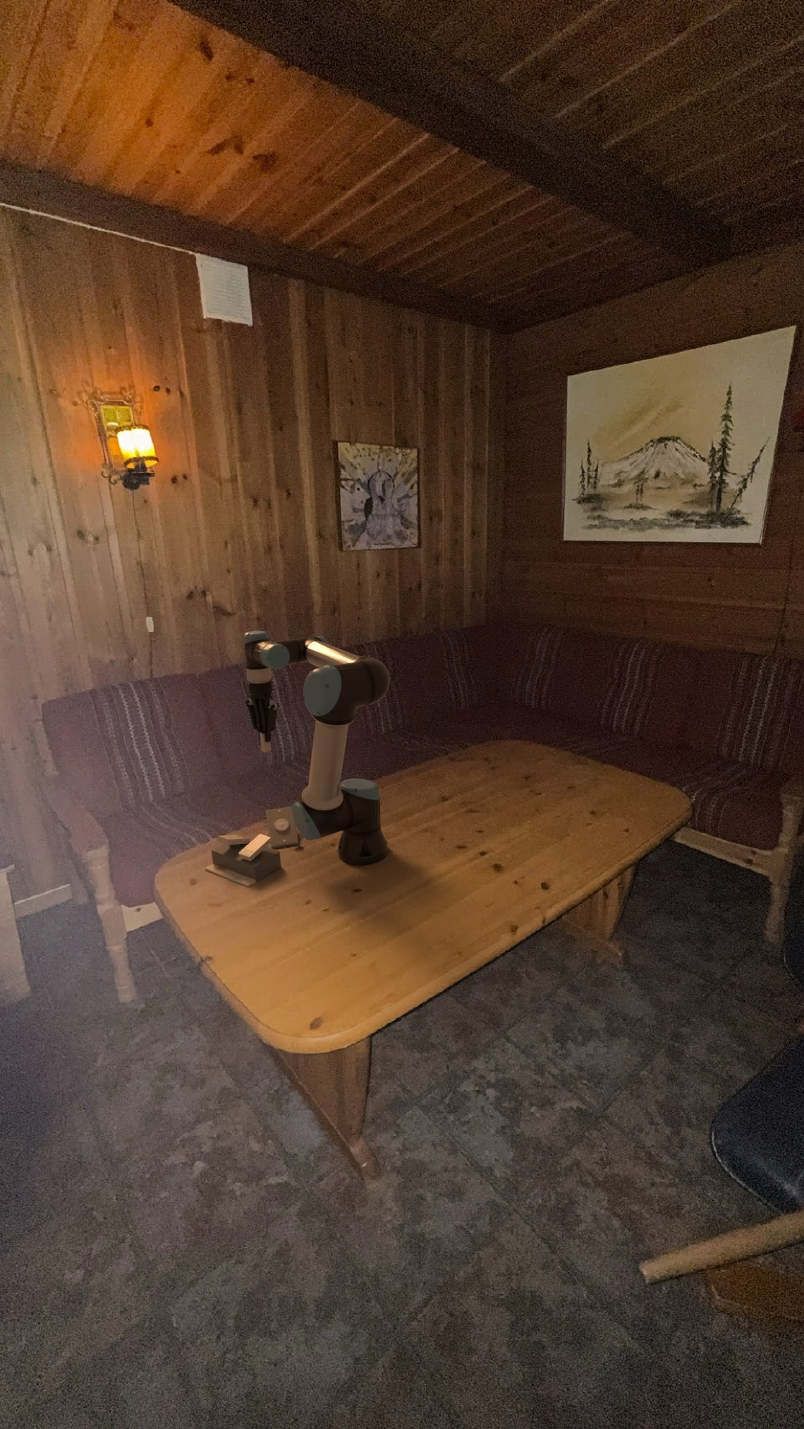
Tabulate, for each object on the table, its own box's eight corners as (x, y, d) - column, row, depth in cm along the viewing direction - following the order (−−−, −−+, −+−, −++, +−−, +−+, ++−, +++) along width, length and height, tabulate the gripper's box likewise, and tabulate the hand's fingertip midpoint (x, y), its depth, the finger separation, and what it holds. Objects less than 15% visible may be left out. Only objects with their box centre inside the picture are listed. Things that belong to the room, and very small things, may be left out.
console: (281, 866, 184) (279, 847, 182) (248, 887, 174) (246, 867, 172) (238, 851, 194) (236, 832, 192) (205, 869, 183) (202, 850, 181)
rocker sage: (272, 841, 183) (270, 837, 182) (250, 861, 176) (249, 856, 176) (261, 837, 185) (259, 833, 184) (239, 857, 179) (238, 852, 178)
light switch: (271, 845, 193) (265, 808, 203) (271, 855, 197) (266, 819, 207) (298, 840, 196) (291, 804, 205) (298, 851, 200) (291, 815, 209)
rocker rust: (249, 843, 188) (250, 838, 188) (227, 844, 180) (228, 839, 180) (239, 839, 190) (240, 834, 190) (216, 841, 182) (217, 835, 183)
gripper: (283, 680, 196) (288, 750, 203) (253, 676, 203) (260, 744, 210) (266, 685, 190) (272, 757, 197) (236, 680, 197) (243, 750, 204)
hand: (266, 750), depth 203 cm, fingers closed
